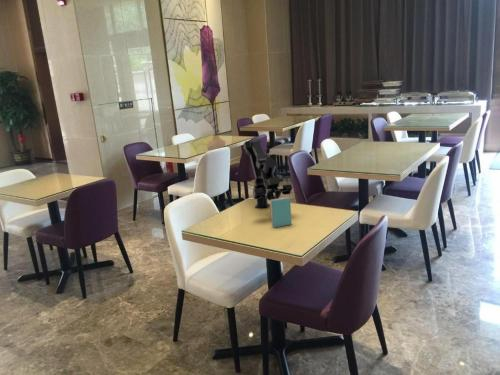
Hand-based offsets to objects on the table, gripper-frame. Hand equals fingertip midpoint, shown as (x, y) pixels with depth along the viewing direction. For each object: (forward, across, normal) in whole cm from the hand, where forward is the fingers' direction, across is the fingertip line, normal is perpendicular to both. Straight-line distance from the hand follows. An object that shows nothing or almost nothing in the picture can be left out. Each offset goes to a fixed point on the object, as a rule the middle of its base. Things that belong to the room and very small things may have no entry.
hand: (277, 206), depth 204 cm
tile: (+9, 0, +2) cm, 10 cm away
